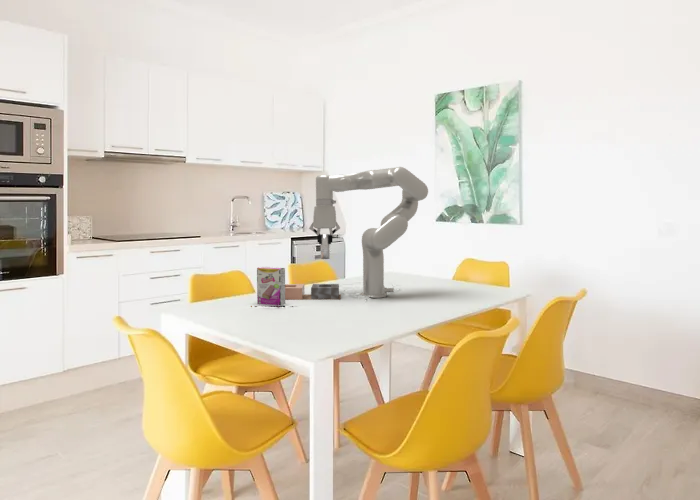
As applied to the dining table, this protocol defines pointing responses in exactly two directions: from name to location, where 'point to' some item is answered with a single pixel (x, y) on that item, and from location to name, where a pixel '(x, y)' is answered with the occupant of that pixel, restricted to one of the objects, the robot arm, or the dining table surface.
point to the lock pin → (325, 246)
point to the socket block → (294, 291)
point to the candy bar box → (271, 286)
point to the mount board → (322, 292)
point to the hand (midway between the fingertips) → (325, 243)
